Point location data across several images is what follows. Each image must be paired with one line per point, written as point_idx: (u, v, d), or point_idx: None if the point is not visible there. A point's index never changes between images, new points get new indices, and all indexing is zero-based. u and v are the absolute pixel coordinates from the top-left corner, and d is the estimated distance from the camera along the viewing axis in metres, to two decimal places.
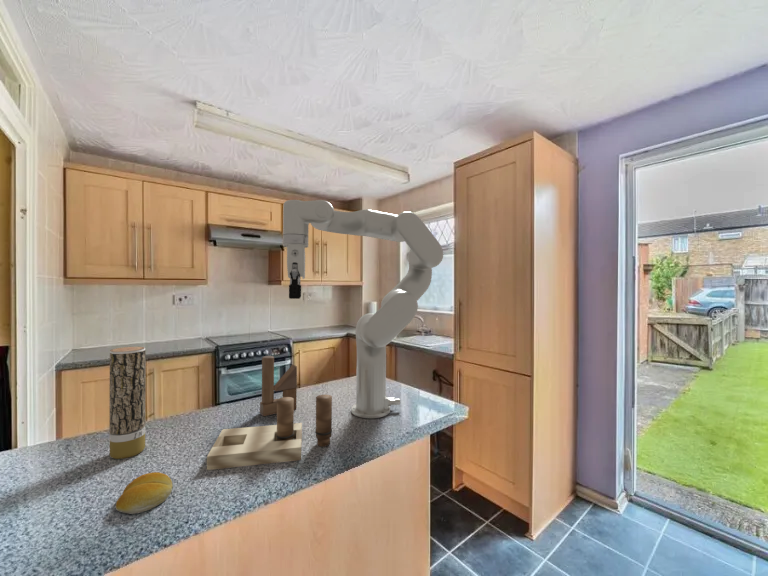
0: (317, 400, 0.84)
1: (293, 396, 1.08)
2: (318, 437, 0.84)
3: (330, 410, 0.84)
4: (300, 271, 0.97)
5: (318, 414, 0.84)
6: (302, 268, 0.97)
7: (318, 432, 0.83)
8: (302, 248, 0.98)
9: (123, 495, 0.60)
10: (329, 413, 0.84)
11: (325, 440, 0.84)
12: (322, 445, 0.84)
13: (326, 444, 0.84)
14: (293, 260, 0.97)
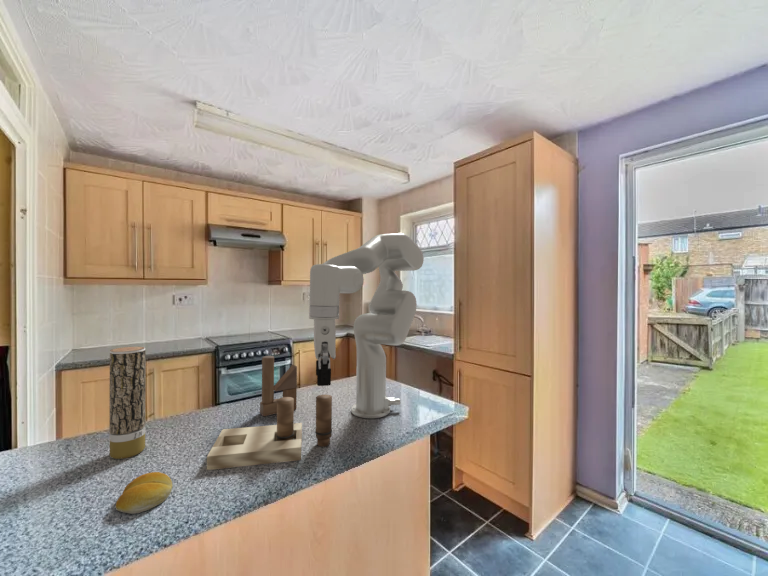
0: (317, 400, 0.84)
1: (293, 396, 1.08)
2: (318, 437, 0.84)
3: (330, 410, 0.84)
4: (331, 352, 0.80)
5: (318, 414, 0.84)
6: (333, 348, 0.80)
7: (318, 432, 0.83)
8: (333, 324, 0.81)
9: (123, 495, 0.60)
10: (329, 413, 0.84)
11: (325, 440, 0.84)
12: (322, 445, 0.84)
13: (326, 444, 0.84)
14: (323, 339, 0.80)
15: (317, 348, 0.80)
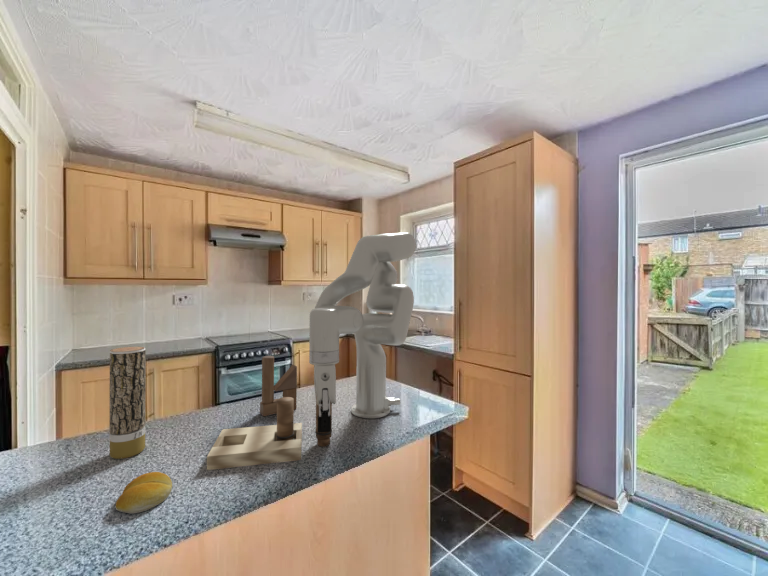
0: None
1: (293, 396, 1.08)
2: (318, 437, 0.84)
3: (330, 410, 0.84)
4: (331, 398, 0.81)
5: (318, 414, 0.84)
6: (334, 394, 0.81)
7: (318, 432, 0.83)
8: (333, 369, 0.81)
9: (123, 495, 0.60)
10: None
11: (325, 440, 0.84)
12: (322, 445, 0.84)
13: (326, 444, 0.84)
14: (323, 385, 0.80)
15: (317, 395, 0.80)
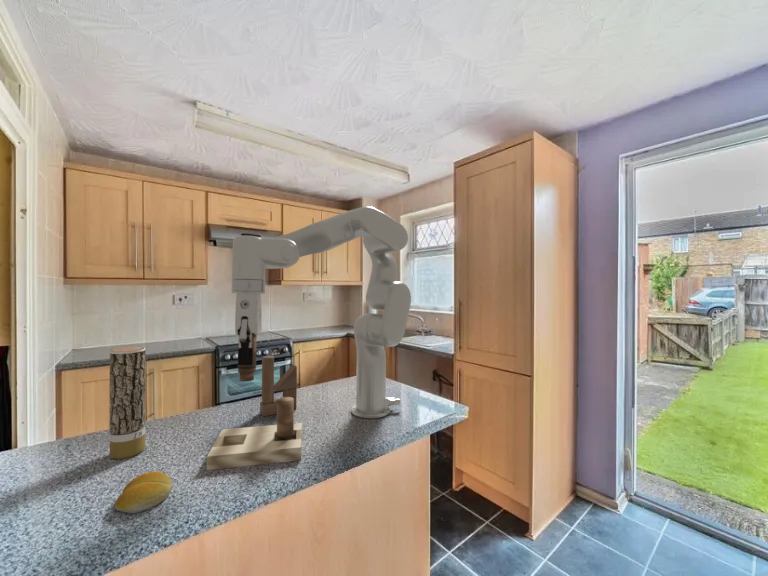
0: None
1: (293, 396, 1.08)
2: (239, 371, 0.79)
3: (253, 343, 0.80)
4: (251, 327, 0.76)
5: None
6: (254, 323, 0.76)
7: (240, 366, 0.79)
8: (254, 298, 0.77)
9: (123, 494, 0.60)
10: (252, 346, 0.80)
11: (247, 375, 0.79)
12: (243, 380, 0.79)
13: (248, 379, 0.79)
14: (242, 313, 0.76)
15: (236, 323, 0.76)
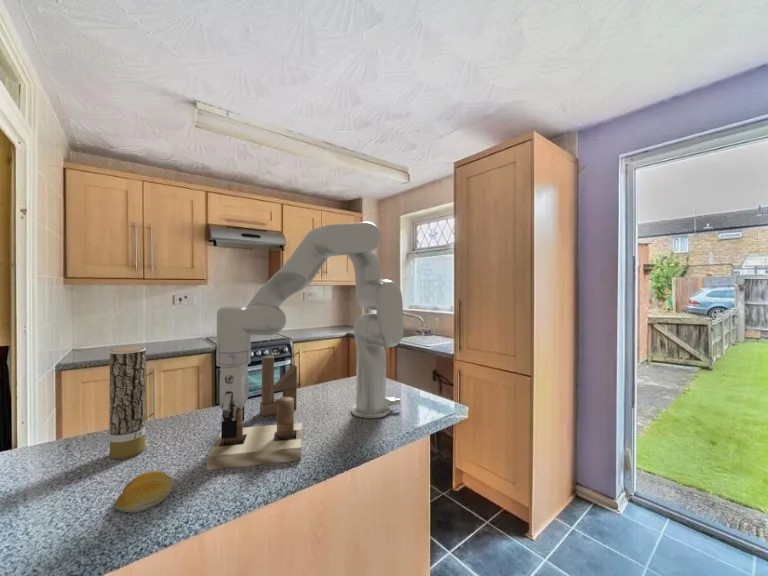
0: None
1: (293, 396, 1.08)
2: None
3: (239, 417, 0.80)
4: (236, 402, 0.76)
5: None
6: (239, 398, 0.76)
7: (226, 441, 0.79)
8: (239, 371, 0.76)
9: (123, 494, 0.60)
10: (238, 420, 0.79)
11: None
12: None
13: None
14: (227, 388, 0.75)
15: (221, 398, 0.75)
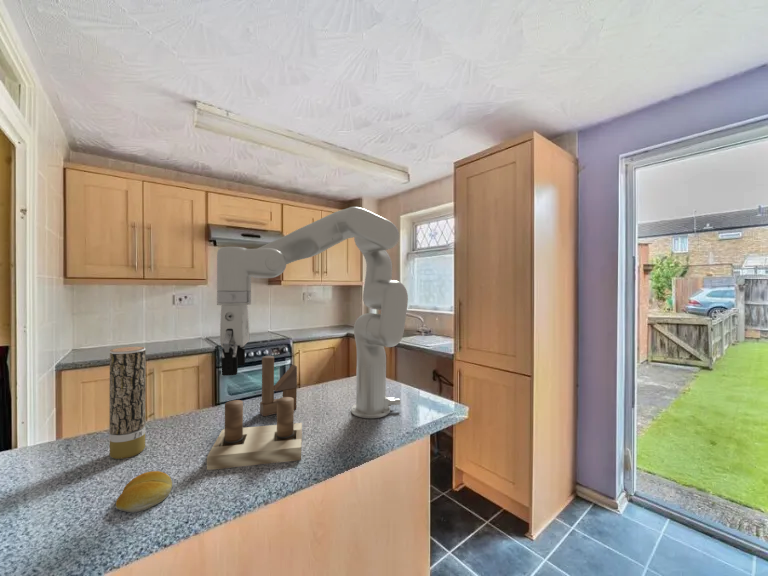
0: (225, 406, 0.79)
1: (293, 396, 1.08)
2: None
3: (240, 417, 0.80)
4: (236, 339, 0.76)
5: (225, 421, 0.79)
6: (239, 335, 0.76)
7: (226, 441, 0.79)
8: (239, 310, 0.76)
9: (123, 494, 0.60)
10: (238, 420, 0.79)
11: None
12: None
13: None
14: (227, 326, 0.75)
15: (221, 335, 0.75)
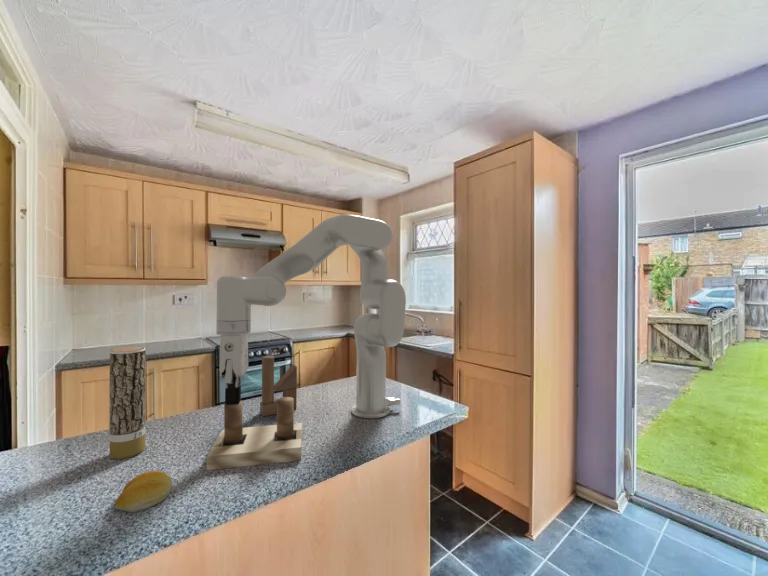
0: (224, 406, 0.79)
1: (293, 396, 1.08)
2: None
3: (239, 417, 0.80)
4: (236, 370, 0.76)
5: (225, 421, 0.79)
6: (238, 366, 0.76)
7: (226, 441, 0.79)
8: (239, 340, 0.76)
9: (123, 493, 0.60)
10: (238, 420, 0.79)
11: None
12: None
13: None
14: (226, 356, 0.75)
15: (220, 366, 0.75)
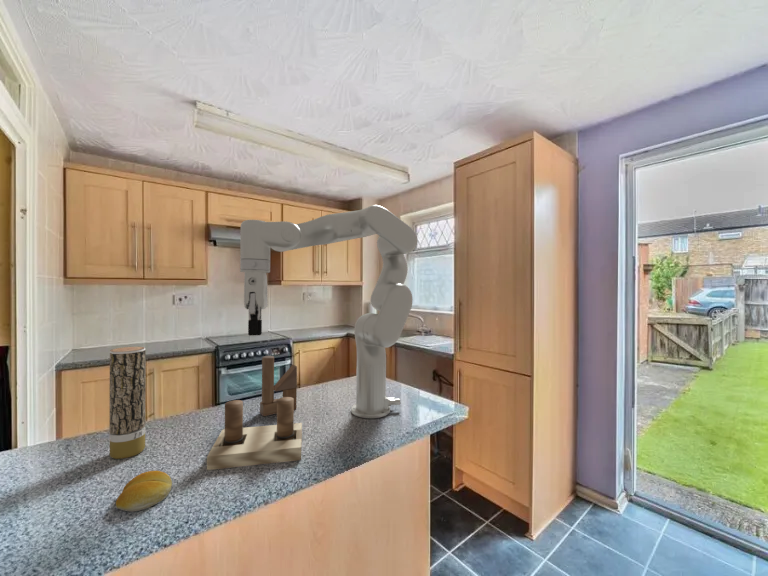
0: (225, 406, 0.79)
1: (293, 396, 1.08)
2: None
3: (240, 417, 0.80)
4: (258, 301, 0.85)
5: (225, 421, 0.79)
6: (261, 298, 0.85)
7: (226, 441, 0.79)
8: (261, 275, 0.86)
9: (123, 493, 0.60)
10: (238, 420, 0.79)
11: None
12: None
13: None
14: (250, 289, 0.85)
15: (245, 298, 0.84)
